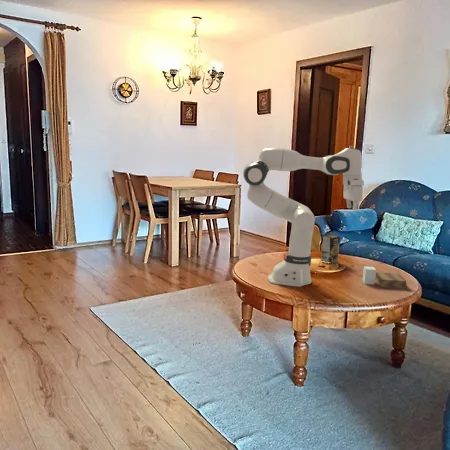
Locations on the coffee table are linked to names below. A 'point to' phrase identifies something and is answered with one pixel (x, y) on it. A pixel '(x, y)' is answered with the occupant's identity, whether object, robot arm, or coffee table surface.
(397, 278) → the walnut plinth
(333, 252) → the coffee box
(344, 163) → the robot arm
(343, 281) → the coffee table surface
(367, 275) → the light grey block
